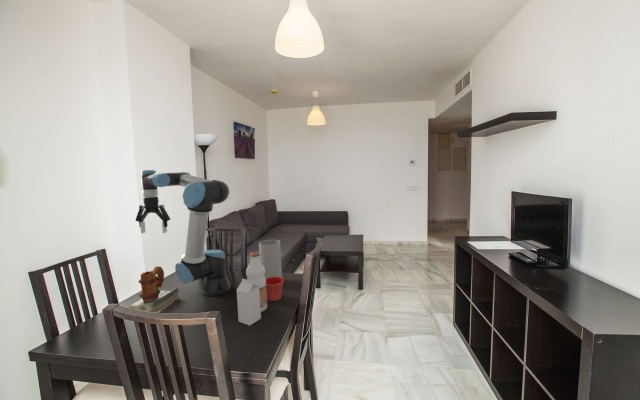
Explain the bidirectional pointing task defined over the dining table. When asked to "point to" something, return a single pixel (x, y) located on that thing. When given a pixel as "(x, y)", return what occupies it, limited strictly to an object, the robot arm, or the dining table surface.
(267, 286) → the flower pot
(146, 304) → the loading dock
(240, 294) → the milk carton
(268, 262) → the cylinder vase
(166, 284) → the dining table surface
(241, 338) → the dining table surface
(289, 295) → the dining table surface
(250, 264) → the fruit juice
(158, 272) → the mug
